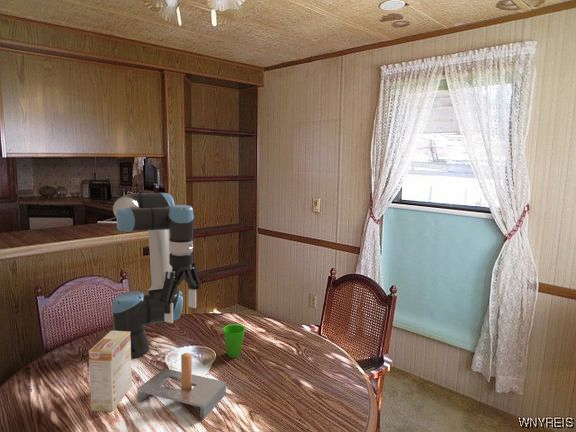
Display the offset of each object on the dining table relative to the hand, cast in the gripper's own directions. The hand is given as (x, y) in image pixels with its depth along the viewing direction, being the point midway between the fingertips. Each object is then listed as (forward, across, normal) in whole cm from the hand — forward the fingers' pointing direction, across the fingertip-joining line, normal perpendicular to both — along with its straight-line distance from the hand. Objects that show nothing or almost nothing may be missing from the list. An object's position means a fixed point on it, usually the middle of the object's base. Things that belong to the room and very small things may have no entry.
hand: (181, 314), depth 136 cm
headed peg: (+25, -7, -7) cm, 27 cm away
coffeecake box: (+26, -15, +16) cm, 34 cm away
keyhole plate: (+25, -7, -5) cm, 27 cm away
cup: (+26, +26, -7) cm, 38 cm away
